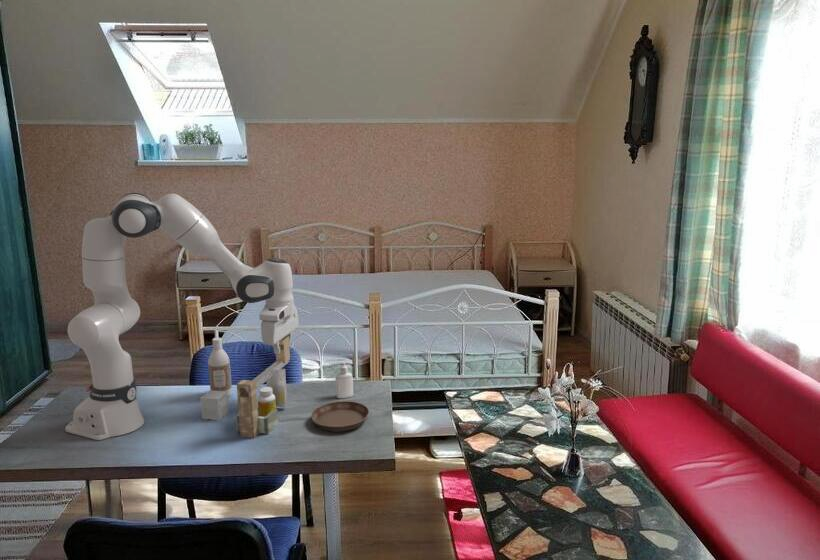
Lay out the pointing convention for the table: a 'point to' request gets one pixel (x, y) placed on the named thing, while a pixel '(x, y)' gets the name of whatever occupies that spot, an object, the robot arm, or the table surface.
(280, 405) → the rod with square block
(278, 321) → the robot arm
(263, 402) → the supplement bottle
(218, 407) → the product box
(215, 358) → the bath foam
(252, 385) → the frame
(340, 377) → the eye dropper bottle
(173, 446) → the table surface
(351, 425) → the plant saucer
